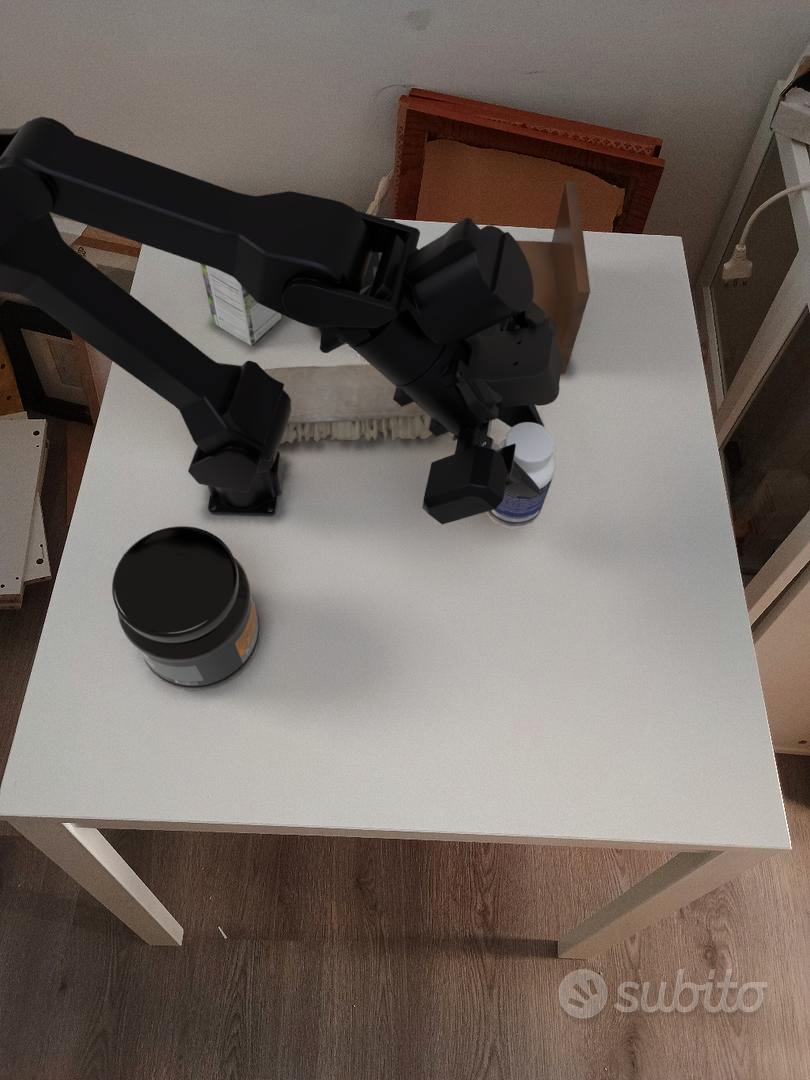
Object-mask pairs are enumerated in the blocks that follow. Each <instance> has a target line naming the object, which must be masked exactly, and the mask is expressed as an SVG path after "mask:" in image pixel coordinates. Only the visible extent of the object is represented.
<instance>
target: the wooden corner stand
mask: <svg viewBox="0 0 810 1080" xmlns="http://www.w3.org/2000/svg"><path fill="white" fill-rule="evenodd" d="M516 242H517V243H518V244H519V246H520V247H521V249H522V251H523V253H524V255H525V257H526V259H527V262H528V264H529V267H530V270H531V274H532V279H533V285H534V296H533V302H534V303H535V304H536V305H538V306H539V307H540V308H541V309H542V310H543V311H544V312H545V313H546V315H547V318H550V320H551V322H555V323H557V325H558V332H557V339H556V342H557V345H558V348H559V351H560V354H561V357H562V360H563V366H562V368H561V374H562V375H563V374H564V375H565V374H566V373H567V371H568V368H569V364H570V361H571V358H572V355H573V351H574V347H575V345H576V340H577V337H578V334H579V331H580V328H581V324H582V320H583V319H584V318H583V317H584V314H585V311H586V307H587V304H588V301H589V297H590V295H591V285H590V276H589V270H588V259H587V253H586V246H585V237H584V229H583V221H582V214H581V205H580V197H579V188H578V182H577V181H568V180H567V181H565V182H564V187H563V190H562V196H561V200H560V204H559V209H558V213H557V218H556V221H555V226H554V229H553V235H552V239H551V241H542V240H541V241H540V240H539V241H538V240H535V241H534V240H516ZM561 374H560V375H561Z"/></svg>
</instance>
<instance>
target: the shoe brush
mask: <svg viewBox="0 0 810 1080" xmlns="http://www.w3.org/2000/svg"><path fill="white" fill-rule="evenodd" d="M262 369H263V370H264V371H265V372H266V373H267V374H268V375H269V376H271V377H272V378H274V379H275V380H277V381H279V382H281V383H283V384H284V388H283V390H284V391H285V392H286V393H287V394H288V395H289V397H290V399H291V413H290V416H289V419H288V422H287V425H286V428H285V431H284V434H283V437H282V440H281V443H280V445H283V444H284V443H286V442H288V443H289V444H290V445H291V444H293V442H294V440H296V439H297V441H298V443H300V442H301V440H302V439H303V437H304V440H305V441H306V442H309V441H310V439H311V438H313V440H314V441H315V442H317V443H319V442H320V440H321V439H324V440H325V439H326V438H327V437H328V436H330V440H331V441H333V440H338V441H339V442H342V441H356V440H360V439H361V437H362V436H365V439H366V441H371V440H372V438H373V440H374V441H376V440H377V439H378V438H379V432H382V434H383V436H384V441H386V440H387V436H388V431H390V434H391V439H392V441H393V442H394V441H395V440H396V439H397V438H399V439H402V440H413V441H414V440H416V438H418V437H419V439H421V440H426V439H427V438H428V437H430V436H433V433H431V432H430V431H429V425H430V421H431V417H430V416H429V415H428V414H427V413H426V412H425V411H423V410H422V409H421V408H420V407H419V406H418V405H417V404H415V403H414V402H412V403H410V404H408V405H405V406H403V407H401V406H400V405H399V404H398V403H397V402H395V401H394V400H393V397H394V393H395V389H396V386H395V385H394V384H393V383H391V382H390V381H389V380H388V379H387V378H386V377H385V376H383V375H382V374H381V373H380V372H379V371H378V370H377V369H375V368H374V367H373V366H372V365H371V364H370V363H368V364H339V365H331V366H330V365H328V366H325V365H324V366H323V365H321V366H320V365H319V366H317V365H310V366H290V367H274V368H262Z"/></svg>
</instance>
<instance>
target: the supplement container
mask: <svg viewBox="0 0 810 1080" xmlns="http://www.w3.org/2000/svg"><path fill="white" fill-rule="evenodd" d="M247 575H248V574H247V573H246V571H245V569H244V567H243V565H242V564H241V563H240V562H239V561H238V560H237V558H236V557H235V556H234V554H233V553H232V551H231V550H230V548H229V547H228V545H227V544H226V543H225V542H224V541H223V540H222V539H221V538H220V537H218V536H217V535H215V534H213V533H211V532H210V531H208V530H205V529H202V528H198V527H195V526H184V525H178V526H169V527H165V528H161V529H157V530H154V531H152V532H150V533H148V534H147V535H145V536H143V537H142V538H139V539H138V540H137V541H136V542H135V543H133V544H132V545H131V546H130V547H129V548H128V549H127V550H126V551H125V553H124V554H123V556H121V558H120V560H119V562H118V563H117V565H116V568H115V570H114V573H113V576H112V583H111V593H112V594H111V595H112V599H113V604H114V606H115V608H116V611H117V617H118V621H119V624H120V628H121V630H122V631H123V633H124V635H125V637H126V639H128V641H129V642H130V643H131V645H133V646H134V647H135V648H136V649H137V651H138V652H139V653H140V654H139V655H141V656H142V658H143V661H144V662H145V664H146V665H147V667H148V668H149V670H150V671H151V672H152V673H153V675H155V676H156V677H157V678H158V679H159V680H161V681H163V682H164V683H166V684H168V685H170V686H172V687H174V688H177V689H181V690H188V691H202V690H209V689H213V688H216V687H218V686H221V685H223V684H226V683H228V682H229V681H231V680H232V679H234V678H235V677H237V676H238V675H239V674H241V672H242V671H243V670H244V669H245V668H247V666H248V665H249V663H250V662H251V660H252V659H253V657H254V655H255V653H256V651H257V649H258V646H259V642H260V636H261V621H260V616H259V612H258V610H257V607H256V605H255V603H254V600H253V596H252V593H251V586H250V581H249V578H248V576H247Z"/></svg>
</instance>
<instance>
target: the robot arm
mask: <svg viewBox="0 0 810 1080" xmlns="http://www.w3.org/2000/svg"><path fill="white" fill-rule="evenodd" d="M52 214H53V215H57V216H60V217H62V218H66V219H69V220H72V221H75V222H77V223H79V224H83V225H86V226H89V227H92V228H95V229H98V230H101V231H104V232H106V233H109V234H113V235H115V236H119V237H121V238H124V239H127V240H130V241H133V242H136V243H139V244H142V245H145V246H147V247H151V248H152V249H153V248H154V249H157V250H160V251H163V252H166V253H169V254H171V255H174V256H177V257H180V258H183V259H186V260H189V261H191V262H195V263H197V264H199V265H200V264H203V265H206V266H209V267H212V268H215V269H217V270H220V271H222V272H224V273H226V274H228V275H230V276H232V277H234V278H235V279H236V280H237V281H238V282H239V283H240V284H241V286H242V287H243V288H244V289H245V290H246V291H247V292H248V293H249V294H250V295H251V296H252V297H253V299H254V300H255V301H256V302H258V303H259V304H261V305H263V306H265V307H267V308H269V309H271V310H274V311H276V312H278V313H280V314H282V315H284V317H286V318H289V319H291V320H293V321H295V322H297V323H299V324H302V325H305V326H307V327H312V328H317V329H318V328H320V330H321V332H320V343H319V350H320V352H321V353H323V354H329V353H331V352H332V351H335V350H336V349H338V348H340V347H342V346H344V345H346V344H347V345H348V346H349V347H350V348H351V349H353V350H354V351H355V352H356V353H357V354H358V355H359V356H361V358H363V359H364V360H365V361H366V362H367V363H368V364H371V365H372V366H373V367H374V368H375V369H377V370H378V371H379V372H380V373H381V374H382V375H383V376H385V377H386V378H387V379H388V380H389V381H390V382H391V383H393V384H394V385H395V386H396V389H395V393H394V397H393V400H394V401H395V402H397V403H398V404H399V405H400V406H401V407H403V406H405V405H408V404H410V403H412V402H414V403H415V404H417V405H418V406H419V407H420V408H421V409H422V410H423V411H425V412H426V413H427V414H428V415H429V416H430V417H431V421H430V425H429V431H430V432H431V433H432V435H434V437H436V438H438V437H440V436H443V435H445V434H449V433H450V434H451V435H453V437H452V441H453V442H455V443H456V446H455V451H454V454H451V455H448V456H445V457H442V458H440V459H437V460H434V461H432V462H430V467H429V471H428V477H427V481H426V485H425V490H424V494H423V499H422V506H421V508H422V510H424V512H425V513H427V515H429V516H430V517H431V518H432V519H434V520H435V521H437V522H438V523H439V524H440V525H441V526H442V525H447V524H449V523H453V522H456V521H459V520H463V519H467V518H470V517H474V516H478V515H480V514H484V513H486V512H488V511H491V510H495V509H496V508H497V507H498V506H499V505H500V504H501V503H502V501H503V498H504V492H505V493H510V494H515V495H521V496H526V497H533V496H537V495H539V494H540V489H539V487H538V486H537V485H536V483H535V482H534V481H533V480H532V479H531V477H530V476H529V475H528V474H527V473H526V472H525V471H524V470H523V469H522V468H521V467H520V466H519V465H518V464H517V463H516V462H515V461H514V455H515V449H516V444H512V445H509V446H506V447H503V448H500V447H499V446H498V444H497V443H496V441H495V440H494V438H492V437H491V431H492V426H493V425H492V424H493V421H494V420H497V419H498V420H499V421H501V422H502V423H504V424H505V425H507V426H508V427H510V429H511V428H512V427H513V426H515V425H517V424H519V423H524V422H532V423H536V424H539V425H541V426H543V427H545V425H544V422H543V420H542V418H541V415H540V414H539V411H538V409H537V406H538V407H539V406H541V407H542V406H547V405H550V404H552V403H553V402H555V401H556V400H557V399H558V397H559V394H560V383H561V382H560V381H561V380H560V379H561V368H562V366H563V360H562V357H561V354H560V351H559V348H558V345H557V342H556V339H557V332H558V325H557V323H555V322H551V320H550V318H547V315H546V313H545V312H544V311H543V310H542V309H541V308H540V307H539V306H538V305H536V304H535V303H534V302H533V296H534V285H533V279H532V274H531V270H530V267H529V264H528V262H527V259H526V257H525V255H524V253H523V251H522V249H521V247H520V246H519V244H518V243H517V242H516V241H517V240H516V239H515V238H514V236H513V235H512V234H511V233H510V232H509V231H506V232H505V231H503V230H502V229H500V227H497V226H494V225H486V226H484V227H482V228H480V227H479V226H478V224H476V223H475V221H474V220H473V219H472V218H469V217H465V218H463V219H462V220H460V221H459V222H456V223H455V224H454V225H452V226H451V227H450V228H449V229H448V230H447V231H446V232H445V233H444V234H442V235H441V236H439V237H437V238H435V239H434V240H431V242H429V243H427V244H426V245H424V246H422V247H420V248H418V243H419V240H420V237H421V231H420V230H419V228H416V227H414V226H410V225H407V224H403V223H401V222H397V221H396V220H393V219H387V218H384V217H380V216H376V215H373V214H369V213H366V212H363V211H359V210H356V209H355V208H353V207H352V206H350V205H348V204H346V203H344V202H342V201H339V200H335V199H331V198H326V197H321V196H317V195H312V194H308V193H307V194H306V193H302V192H297V191H291V190H289V191H282V192H276V193H275V192H274V193H269V194H268V193H267V194H262V195H251V194H247V193H241V192H237V191H234V190H231V189H228V188H225V187H223V186H220V185H217V184H214V183H212V182H209V181H205V180H203V179H201V178H197V177H195V176H191V175H189V174H186V173H183V172H181V171H177V170H175V169H172V168H169V167H166V166H163V165H161V164H158V163H155V162H152V161H149V160H146V159H144V158H141V157H138V156H135V155H132V154H130V153H126V152H124V151H121V150H119V149H115V148H113V147H110V146H108V145H104V144H103V143H102V144H101V143H99V142H96V141H93V140H90V139H87V138H85V137H82V136H79V135H76V134H75V132H74V131H72V130H71V129H70V128H68V127H67V126H66V125H65V124H64V123H62V122H60V121H58V120H56V119H54V118H51V117H46V116H40V117H35V118H33V119H31V120H28V121H26V122H25V123H24V124H22V125H21V126H19V127H18V128H1V129H0V293H5V294H6V293H7V294H12V295H19V296H21V297H22V298H24V299H26V300H28V301H29V302H31V303H32V304H33V305H34V306H36V307H37V308H38V309H40V310H41V311H43V312H44V313H46V314H47V315H48V316H49V317H51V318H52V319H54V320H55V321H57V322H58V323H59V324H61V325H62V326H64V327H65V328H67V330H69V331H71V332H72V333H73V334H75V335H76V336H77V337H79V338H80V339H81V340H83V341H84V342H85V343H87V344H88V345H90V346H91V347H92V348H94V349H95V350H96V351H98V352H99V353H101V354H102V355H103V356H105V357H106V358H108V359H109V360H110V361H112V362H113V363H115V364H116V365H117V366H119V367H120V368H121V369H123V370H124V371H125V372H127V373H128V374H130V375H131V376H132V377H133V378H135V379H136V380H138V381H139V382H141V383H142V384H143V385H145V386H146V387H147V388H149V389H150V390H152V391H153V392H155V394H157V395H158V396H160V397H161V398H163V399H164V400H165V401H167V402H168V403H169V404H171V405H172V406H174V407H175V408H176V409H177V410H178V411H179V413H180V415H181V417H182V420H183V422H184V424H185V426H186V428H187V430H188V432H189V435H190V437H191V439H192V441H193V442H194V444H195V445H196V449H195V451H194V454H193V456H192V459H191V462H190V464H189V467H188V470H187V472H188V473H189V475H190V476H192V478H193V479H194V480H195V482H196V483H197V484H199V485H202V486H207V487H208V488H207V489H208V491H209V494H210V495H209V499H208V505H207V510H208V512H209V514H211V515H223V516H224V515H225V516H226V515H227V516H255V517H257V516H259V517H272V516H275V514H276V513H277V506H278V505H277V504H278V498H279V497H281V496H282V495H283V487H284V486H283V485H284V475H285V474H284V468H283V462H282V456H281V452H280V451H279V449H280V446H281V444H280V443H281V440H282V437H283V434H284V431H285V428H286V425H287V422H288V419H289V416H290V413H291V399H290V397H289V395H288V394H287V393H286V392H285V391H284V390H283V388H284V384H283V383H281V382H279V381H277V380H275V379H274V378H272V377H271V376H269V375H268V374H267V373H266V372H265V371H264V370H263V369H264V368H262V367H261V366H260V365H259V363H257V362H255V361H253V360H246V361H245V362H244V363H242V364H241V365H240V364H232V363H231V364H230V363H221V362H217V361H215V360H213V359H212V358H210V357H209V356H208V355H207V354H206V353H205V352H203V351H202V350H201V349H199V348H198V347H197V346H196V345H194V344H193V343H192V342H191V341H189V339H187V338H186V337H184V336H183V335H182V334H181V333H179V332H178V331H177V330H176V329H174V328H173V327H172V326H171V325H169V324H168V323H167V322H165V320H163V319H162V318H160V317H159V316H158V315H157V314H155V313H154V311H152V310H150V308H148V307H147V306H146V305H144V304H143V303H142V302H140V301H139V300H138V299H137V298H136V297H135V296H133V295H132V294H130V293H129V292H128V291H127V290H125V289H124V288H123V287H122V286H120V285H119V284H118V283H116V282H115V281H114V280H113V279H112V278H110V277H109V276H108V275H107V274H105V273H104V272H103V271H102V270H100V269H99V268H98V267H96V266H95V265H94V264H93V263H92V262H90V261H89V260H87V258H85V257H84V256H83V255H81V254H80V253H79V252H77V251H76V250H75V249H74V248H73V247H72V246H70V245H69V244H68V243H67V242H66V241H65V240H64V239H63V237H62V235H61V233H60V231H59V229H58V226H57V225H56V223H55V221H54V218H53V216H52ZM372 252H375V253H382V255H381V258H380V261H379V265H378V268H377V271H376V275H375V278H374V281H373V284H371V285H369V286H368V287H366V288H364V289H363V290H361V287H362V284H363V281H364V277H365V274H366V271H367V268H368V264H369V261H370V258H371V255H372ZM360 290H361V291H360ZM213 508H214V509H213ZM270 510H271V511H270Z"/></svg>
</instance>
